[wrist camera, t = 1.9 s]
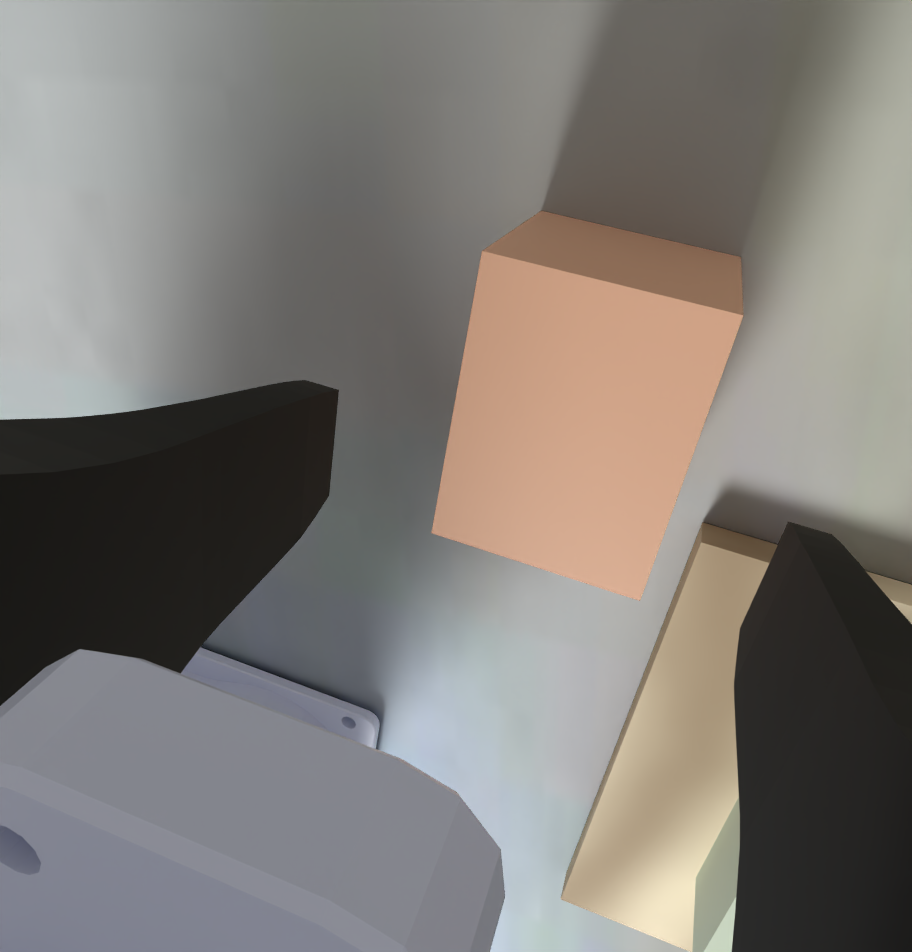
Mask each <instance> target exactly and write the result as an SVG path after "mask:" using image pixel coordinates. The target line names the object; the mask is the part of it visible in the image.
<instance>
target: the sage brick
mask: <svg viewBox="0 0 912 952" xmlns="http://www.w3.org/2000/svg"><path fill="white" fill-rule="evenodd" d="M739 850H740V810H739V797H738V799H737V801H736V803H735V805H734V807H733V809H732V810H731V812H730V814H729V816H728V818H727V820H726V822H725V824H724V825H723V827H722V829H721V831H720V833H719V835H718V837H717V839H716V841H715V842H714V844H713V846H712V848H711V850H710V852H709V854H708V856H707V858H706V859H705V861H704V863H703V865H702V867H701V869H700V871H699V873H698V874H697V876H696V883H695V905H694V926H693V948H692V952H732V942H733V931H734V919H735V907H736V893H737V878H738V864H739Z"/></svg>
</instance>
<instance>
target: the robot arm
mask: <svg viewBox="0 0 912 952" xmlns="http://www.w3.org/2000/svg"><path fill="white" fill-rule="evenodd" d="M338 392H339V390H337V389H333V388H330V387H326V386H323V385H320V384H316V383H313V382H309V381H306V380H302V381H290V382H283V383H277V384H272V385H267V386H262V387H257V388H252V389H247V390H243V391H238V392H233V393H228V394H224V395H219V396H214V397H210V398H205V399H200V400H195V401H189V402H184V403H178V404H172V405H167V406H161V407H155V408H150V409H144V410H137V411H130V412H123V413H114V414H105V415H94V416H83V417H71V418H47V419H11V420H0V952H490V949H491V945H492V942H493V938H494V934H495V931H496V927H497V924H498V920H499V916H500V913H501V909H502V906H503V902H504V899H505V891H504V880H503V869H502V859H501V849H500V848H499V847H498V845H497V844H496V843H495V841H494V840H493V839H492V837H491V836H490V835H489V833H488V832H487V831H486V829H485V828H484V827H483V826H482V824H481V823H480V822H479V820H478V819H477V818H476V816H475V815H474V814H473V813H472V811H471V810H470V809H469V807H468V806H467V805H466V803H465V802H464V801H463V800H462V798H461V797H460V796H459V794H458V793H457V792H456V791H454V790H452V789H451V788H449V787H447V786H446V785H444V784H442V783H441V782H439V781H437V780H436V779H434V778H432V777H431V776H429V775H427V774H426V773H424V772H422V771H421V770H419V769H417V768H416V767H414V766H412V765H411V764H409V763H407V762H406V761H404V760H402V759H400V758H398V757H395V756H392V755H390V754H387V753H385V752H382V751H380V750H377V749H376V745H377V739H378V733H379V726H380V724H379V720H378V718H377V716H376V715H375V714H374V713H372V712H370V711H369V710H366V709H364V708H361V707H358V706H356V705H353V704H350V703H348V702H345V701H342V700H340V699H337V698H334V697H332V696H329V695H326V694H324V693H321V692H318V691H316V690H313V689H310V688H308V687H305V686H302V685H300V684H297V683H294V682H292V681H289V680H286V679H284V678H281V677H278V676H276V675H273V674H270V673H268V672H265V671H262V670H260V669H257V668H254V667H252V666H249V665H246V664H244V663H241V662H238V661H236V660H233V659H230V658H228V657H225V656H222V655H220V654H217V653H214V652H212V651H209V650H206V649H204V648H201V646H202V644H203V643H204V642H205V641H206V640H207V638H208V637H209V636H210V635H211V634H212V633H213V631H214V630H215V629H216V628H217V627H218V626H219V624H220V623H221V622H222V621H223V620H224V619H225V618H226V617H227V616H228V615H229V614H230V613H231V612H232V611H233V610H234V609H235V607H236V606H237V605H238V604H239V603H240V602H241V601H242V600H243V599H244V598H245V597H246V596H247V595H248V594H249V593H250V592H251V591H252V589H253V588H254V587H255V586H256V585H257V584H258V583H259V582H260V581H261V580H262V579H263V578H264V577H265V576H266V575H267V574H268V573H269V572H270V570H271V569H272V568H273V567H274V566H275V565H276V564H277V563H278V562H279V561H280V560H281V559H282V558H283V556H284V555H285V554H286V553H287V552H288V551H289V550H290V549H291V548H292V547H293V546H294V544H295V543H296V542H297V541H298V540H299V539H300V538H301V536H302V535H303V533H304V532H305V531H306V529H307V528H308V526H309V525H310V524H311V522H312V521H313V519H314V518H315V516H316V515H317V513H318V512H319V510H320V509H321V507H322V506H323V504H324V502H325V501H326V499H327V498H328V496H329V490H330V479H331V468H332V457H333V446H334V436H335V425H336V414H337V403H338ZM734 704H735V728H736V749H737V769H738V789H739V810H740V850H739V864H738V878H737V893H736V907H735V919H734V931H733V942H732V952H912V624H911V623H910V621H909V620H908V619H907V618H906V617H905V616H904V615H903V614H902V613H901V611H900V610H899V609H898V608H897V607H896V606H895V605H894V604H893V602H892V601H891V600H890V599H889V598H888V597H887V596H886V594H885V593H884V592H883V591H882V590H881V589H880V587H879V586H878V585H877V584H876V583H875V582H874V580H873V579H872V578H871V577H870V576H869V575H868V573H867V572H866V571H865V570H864V569H863V568H862V566H861V565H860V564H859V563H858V562H857V561H856V559H855V558H854V557H853V556H852V555H851V554H850V553H849V551H848V550H847V549H846V548H845V547H844V546H843V545H842V544H841V543H840V542H839V541H838V540H837V539H836V538H835V537H834V536H833V535H832V534H828V533H825V532H822V531H818V530H815V529H811V528H808V527H804V526H801V525H798V524H794V523H791V522H788V524H787V526H786V528H785V530H784V533H783V535H782V537H781V539H780V541H779V544H778V546H777V548H776V550H775V552H774V554H773V557H772V559H771V561H770V563H769V565H768V568H767V570H766V572H765V574H764V576H763V579H762V581H761V583H760V585H759V587H758V590H757V592H756V594H755V596H754V598H753V600H752V603H751V605H750V607H749V609H748V611H747V614H746V616H745V618H744V620H743V622H742V625H741V627H740V631H739V640H738V648H737V657H736V666H735V677H734ZM349 717H350V718H352V719H353V720H352V719H350V718H349Z"/></svg>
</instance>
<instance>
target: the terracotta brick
mask: <svg viewBox="0 0 912 952" xmlns="http://www.w3.org/2000/svg"><path fill="white" fill-rule="evenodd" d="M743 316H744V315H743V293H742V270H741V257H738V256H734V255H730V254H725V253H721V252H717V251H712V250H708V249H704V248H699V247H695V246H691V245H687V244H682V243H678V242H674V241H669V240H665V239H661V238H656V237H652V236H648V235H644V234H639V233H635V232H631V231H626V230H622V229H618V228H614V227H609V226H605V225H601V224H596V223H592V222H588V221H583V220H579V219H575V218H571V217H566V216H562V215H558V214H553V213H549V212H545V211H540V212H539V213H537V214H536V215H534V216H533V217H531V218H530V219H529V220H527V221H526V222H524V223H523V224H521V225H520V226H518V227H517V228H515V229H514V230H512V231H511V232H509V233H508V234H506V235H505V236H503V237H502V238H500V239H499V240H497V241H496V242H494V243H493V244H492V245H490V246H489V247H487V248H486V249H484V250H483V251H482V254H481V259H480V265H479V271H478V276H477V282H476V287H475V293H474V298H473V304H472V310H471V315H470V321H469V326H468V332H467V337H466V343H465V348H464V354H463V360H462V365H461V371H460V376H459V382H458V387H457V393H456V399H455V404H454V410H453V415H452V421H451V426H450V432H449V438H448V443H447V449H446V454H445V460H444V465H443V471H442V477H441V482H440V488H439V493H438V499H437V504H436V510H435V516H434V521H433V527H432V532H431V533H432V534H435V535H439V536H442V537H445V538H448V539H451V540H454V541H457V542H460V543H463V544H466V545H469V546H472V547H476V548H479V549H482V550H485V551H488V552H491V553H494V554H497V555H500V556H503V557H506V558H509V559H513V560H516V561H519V562H522V563H525V564H528V565H531V566H534V567H537V568H540V569H543V570H546V571H550V572H553V573H556V574H559V575H562V576H565V577H568V578H571V579H574V580H577V581H580V582H583V583H586V584H590V585H593V586H596V587H599V588H602V589H605V590H608V591H611V592H614V593H617V594H620V595H623V596H627V597H630V598H633V599H636V600H639V601H640V599H641V597H642V594H643V591H644V588H645V586H646V583H647V580H648V577H649V575H650V572H651V569H652V566H653V564H654V561H655V558H656V555H657V553H658V550H659V547H660V544H661V542H662V539H663V536H664V533H665V531H666V528H667V525H668V522H669V520H670V517H671V514H672V511H673V508H674V506H675V503H676V500H677V497H678V495H679V492H680V489H681V486H682V484H683V481H684V478H685V475H686V473H687V470H688V467H689V464H690V462H691V459H692V456H693V453H694V451H695V448H696V445H697V442H698V440H699V437H700V434H701V431H702V429H703V426H704V423H705V420H706V418H707V415H708V412H709V409H710V406H711V404H712V401H713V398H714V395H715V393H716V390H717V387H718V384H719V382H720V379H721V376H722V373H723V371H724V368H725V365H726V362H727V360H728V357H729V354H730V351H731V349H732V346H733V343H734V340H735V338H736V335H737V332H738V329H739V327H740V324H741V321H742V318H743Z"/></svg>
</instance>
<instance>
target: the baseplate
mask: <svg viewBox="0 0 912 952" xmlns="http://www.w3.org/2000/svg"><path fill="white" fill-rule="evenodd" d="M777 546H778V545H777V544H773V543H770V542H767V541H763V540H760V539H757V538H753V537H750V536H747V535H743V534H740V533H736V532H733V531H730V530H726V529H723V528H720V527H716V526H713V525H710V524H706V523H703V522H702V525H701V528H700V530H699V533H698V535H697V538H696V540H695V543H694V546H693V548H692V551H691V553H690V556H689V558H688V561H687V564H686V566H685V569H684V571H683V574H682V576H681V579H680V582H679V584H678V587H677V589H676V592H675V595H674V597H673V600H672V602H671V605H670V607H669V610H668V613H667V615H666V618H665V620H664V623H663V625H662V628H661V631H660V633H659V636H658V638H657V641H656V643H655V646H654V649H653V651H652V654H651V656H650V659H649V661H648V664H647V667H646V669H645V672H644V674H643V677H642V680H641V682H640V685H639V687H638V690H637V692H636V695H635V698H634V700H633V703H632V705H631V708H630V710H629V713H628V716H627V718H626V721H625V723H624V726H623V728H622V731H621V734H620V736H619V739H618V741H617V744H616V746H615V749H614V752H613V754H612V757H611V759H610V762H609V764H608V767H607V770H606V772H605V775H604V777H603V780H602V783H601V785H600V788H599V790H598V793H597V795H596V798H595V801H594V803H593V806H592V808H591V811H590V813H589V816H588V819H587V821H586V824H585V826H584V829H583V831H582V834H581V837H580V839H579V842H578V844H577V847H576V849H575V852H574V855H573V857H572V860H571V862H570V865H569V868H568V870H567V873H566V877H565V881H564V886H563V891H562V896H561V899H562V900H564V901H566V902H569V903H571V904H574V905H576V906H579V907H581V908H584V909H586V910H589V911H591V912H594V913H596V914H599V915H601V916H603V917H606V918H608V919H611V920H613V921H616V922H618V923H621V924H623V925H626V926H628V927H631V928H633V929H636V930H638V931H641V932H643V933H645V934H648V935H650V936H653V937H655V938H658V939H660V940H663V941H665V942H668V943H670V944H673V945H675V946H678V947H680V948H683V949H685V950H687V951H690V952H692V948H693V926H694V905H695V883H696V876H697V874H698V873H699V871H700V869H701V867H702V865H703V863H704V861H705V859H706V858H707V856H708V854H709V852H710V850H711V848H712V846H713V844H714V842H715V841H716V839H717V837H718V835H719V833H720V831H721V829H722V827H723V825H724V824H725V822H726V820H727V818H728V816H729V814H730V812H731V810H732V809H733V807H734V805H735V803H736V801H737V799H738V797H739V789H738V769H737V749H736V728H735V704H734V677H735V666H736V657H737V648H738V640H739V631H740V627H741V625H742V622H743V620H744V618H745V616H746V614H747V611H748V609H749V607H750V605H751V603H752V600H753V598H754V596H755V594H756V592H757V590H758V587H759V585H760V583H761V581H762V579H763V576H764V574H765V572H766V570H767V568H768V565H769V563H770V561H771V559H772V557H773V554H774V552H775V550H776V548H777ZM866 572H867V571H866ZM867 573H868V575H869V576H870V577H871V578H872V579H873V580H874V582H875V583H876V584H877V585H878V586H879V587H880V589H881V590H882V591H883V592H884V593H885V594H886V596H887V597H888V598H889V599H890V600H891V601H892V602H893V604H894V605H895V606H896V607H897V608H898V609H899V610H900V611H901V613H902V614H903V615H904V616H905V617H906V618H907V619H908V620H909V621H910V623H911V624H912V585H911V584H907V583H904V582H901V581H897V580H894V579H891V578H887V577H884V576H880V575H877V574H874V573H870V572H867Z"/></svg>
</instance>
